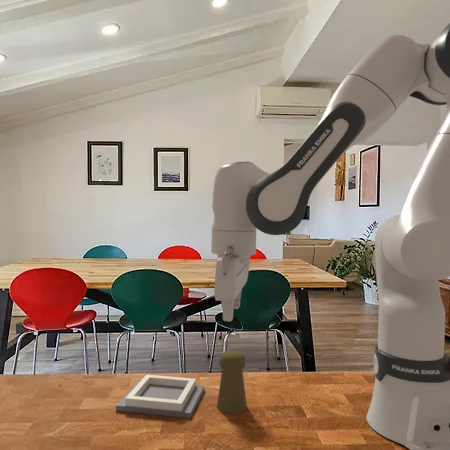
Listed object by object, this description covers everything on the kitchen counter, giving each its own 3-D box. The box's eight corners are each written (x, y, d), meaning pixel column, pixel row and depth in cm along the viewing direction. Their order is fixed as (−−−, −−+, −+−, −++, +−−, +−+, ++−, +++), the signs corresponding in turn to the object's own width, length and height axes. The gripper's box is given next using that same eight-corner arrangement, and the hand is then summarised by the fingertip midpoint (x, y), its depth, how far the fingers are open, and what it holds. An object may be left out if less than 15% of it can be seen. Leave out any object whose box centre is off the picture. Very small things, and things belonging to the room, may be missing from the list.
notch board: (204, 390, 88) (204, 378, 88) (190, 418, 76) (190, 405, 76) (139, 384, 90) (139, 373, 90) (115, 410, 79) (115, 398, 78)
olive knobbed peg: (244, 415, 77) (245, 359, 77) (213, 412, 78) (214, 356, 78) (248, 401, 83) (249, 348, 83) (220, 398, 84) (220, 346, 84)
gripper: (242, 250, 69) (240, 330, 69) (254, 241, 89) (252, 303, 89) (206, 249, 70) (204, 327, 70) (226, 240, 90) (224, 301, 91)
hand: (231, 313), depth 80 cm, fingers open, 8 cm apart
